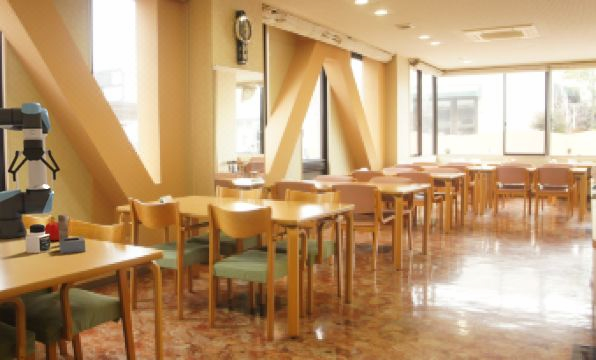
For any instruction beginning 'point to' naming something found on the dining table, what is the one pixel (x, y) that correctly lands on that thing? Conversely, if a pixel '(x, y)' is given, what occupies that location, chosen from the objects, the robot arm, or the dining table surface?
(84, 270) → the dining table surface
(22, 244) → the dining table surface
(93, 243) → the dining table surface
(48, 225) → the red bell pepper
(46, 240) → the medicine bottle
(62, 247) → the socket
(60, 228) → the peg
